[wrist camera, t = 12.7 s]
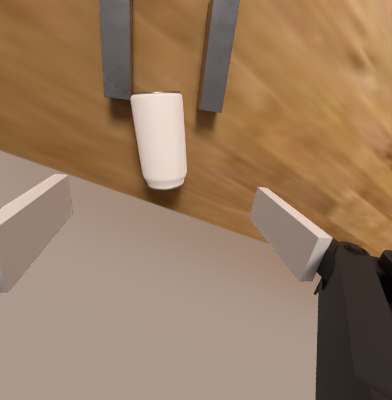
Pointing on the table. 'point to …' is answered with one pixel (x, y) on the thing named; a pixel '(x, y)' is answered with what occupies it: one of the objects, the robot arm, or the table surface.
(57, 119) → the table surface
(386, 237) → the table surface
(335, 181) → the table surface
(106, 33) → the slot guide
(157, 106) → the can
